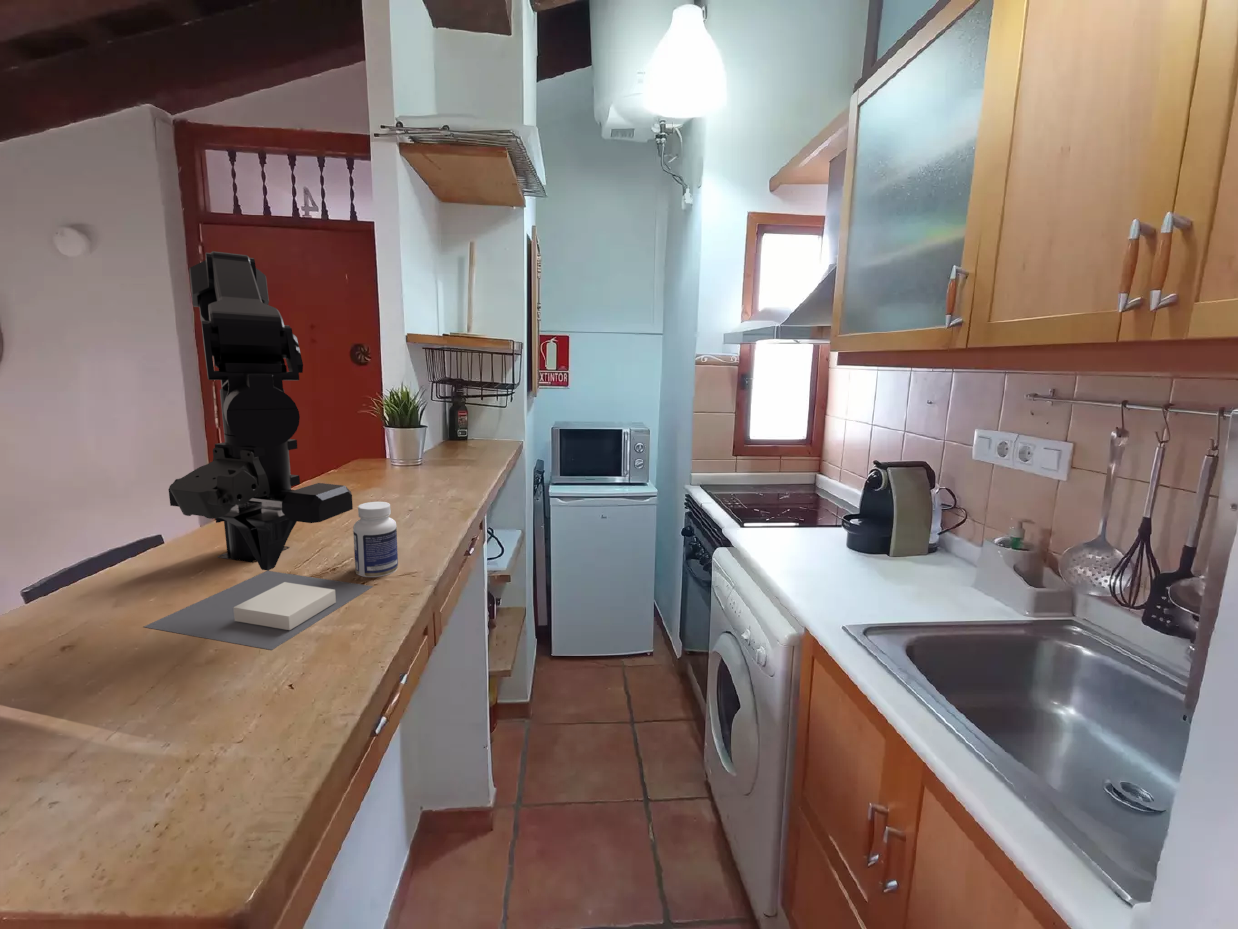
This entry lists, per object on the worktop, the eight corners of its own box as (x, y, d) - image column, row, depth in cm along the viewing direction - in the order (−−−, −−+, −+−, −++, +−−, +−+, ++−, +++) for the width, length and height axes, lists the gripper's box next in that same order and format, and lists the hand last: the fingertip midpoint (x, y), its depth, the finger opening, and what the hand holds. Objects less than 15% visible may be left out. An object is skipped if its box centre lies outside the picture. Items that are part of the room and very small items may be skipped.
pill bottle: (406, 569, 78) (404, 503, 76) (378, 584, 73) (375, 513, 71) (375, 563, 80) (373, 497, 78) (346, 576, 75) (342, 507, 73)
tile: (233, 607, 60) (288, 616, 59) (284, 582, 67) (335, 589, 65) (234, 622, 60) (289, 631, 59) (285, 595, 67) (335, 603, 66)
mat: (143, 631, 59) (143, 626, 59) (267, 574, 74) (267, 570, 74) (272, 655, 56) (271, 649, 55) (373, 590, 71) (373, 586, 71)
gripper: (104, 436, 53) (126, 586, 57) (269, 452, 50) (282, 612, 53) (210, 422, 64) (223, 550, 67) (352, 435, 60) (359, 569, 64)
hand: (268, 569), depth 62 cm, fingers closed
